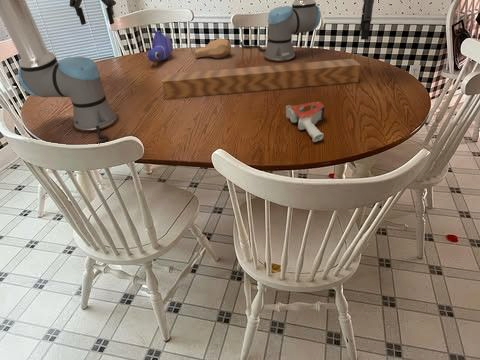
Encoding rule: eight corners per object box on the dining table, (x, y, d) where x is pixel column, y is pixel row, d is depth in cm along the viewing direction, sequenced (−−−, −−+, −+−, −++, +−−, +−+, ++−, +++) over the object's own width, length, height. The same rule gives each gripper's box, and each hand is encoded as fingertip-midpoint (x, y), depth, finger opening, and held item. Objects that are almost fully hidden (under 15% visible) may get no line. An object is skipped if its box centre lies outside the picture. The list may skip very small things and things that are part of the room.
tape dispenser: (318, 148, 112) (340, 119, 125) (320, 134, 109) (342, 106, 122) (269, 134, 120) (295, 107, 132) (269, 120, 116) (295, 94, 129)
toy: (161, 62, 200) (141, 68, 178) (157, 30, 193) (135, 32, 171) (177, 61, 198) (159, 67, 176) (173, 29, 191) (154, 30, 169)
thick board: (165, 98, 148) (161, 81, 144) (166, 91, 155) (163, 74, 150) (358, 82, 152) (360, 64, 147) (351, 75, 159) (353, 58, 154)
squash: (233, 58, 187) (229, 42, 180) (196, 65, 189) (191, 49, 182) (232, 49, 194) (229, 33, 188) (196, 56, 196) (192, 40, 190)
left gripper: (115, -35, 144) (127, 21, 156) (60, -32, 148) (76, 22, 161) (106, -33, 138) (120, 25, 150) (49, -30, 142) (67, 26, 155)
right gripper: (385, -21, 122) (375, 43, 134) (380, -30, 141) (371, 27, 154) (362, -20, 124) (354, 43, 136) (360, -29, 143) (353, 27, 156)
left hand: (97, 24), depth 155 cm, fingers open, 13 cm apart
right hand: (363, 34), depth 145 cm, fingers open, 13 cm apart
